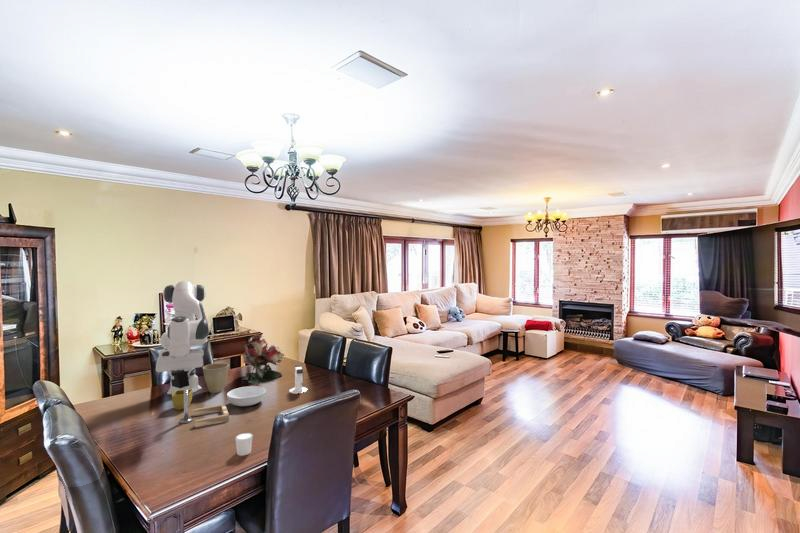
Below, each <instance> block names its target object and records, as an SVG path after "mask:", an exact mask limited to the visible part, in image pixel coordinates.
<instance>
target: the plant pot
mask: <svg viewBox="0 0 800 533" xmlns="http://www.w3.org/2000/svg"><path fill="white" fill-rule="evenodd" d="M229 367H230V365H229V363H226V362H216V363H210V364H207V365H203V366H202V371H203V376H204V377H203V378H204V381H205V384H206V386H207V389H208V393H210V394H216V393H217V394H218V393H222V392H223V390H224V387H225V385H226V382H227V378H228V372H229Z"/></svg>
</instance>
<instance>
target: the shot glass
mask: <svg viewBox="0 0 800 533" xmlns="http://www.w3.org/2000/svg"><path fill="white" fill-rule="evenodd" d="M253 436H254V434H253V433H251V432H244V433H243V432H242V433H239V434H238V435H236V436H235V448H236V454H237V455H238V456H246V455H249V454H251V452H252V444H253Z"/></svg>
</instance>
